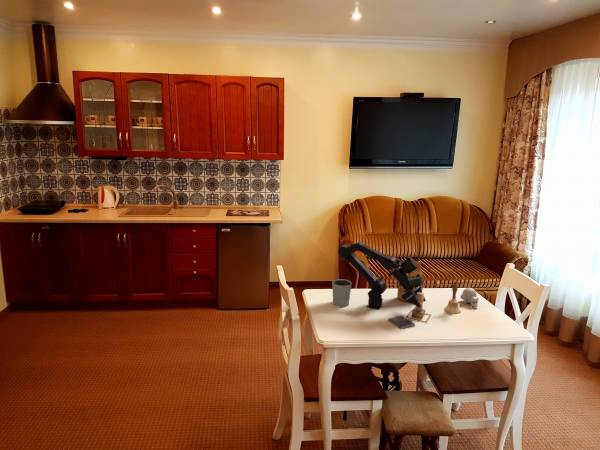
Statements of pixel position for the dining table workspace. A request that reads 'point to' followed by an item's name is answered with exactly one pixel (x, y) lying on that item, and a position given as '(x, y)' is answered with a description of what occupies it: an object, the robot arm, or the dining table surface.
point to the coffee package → (413, 275)
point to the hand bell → (453, 301)
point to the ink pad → (401, 322)
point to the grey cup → (341, 292)
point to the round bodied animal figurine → (470, 297)
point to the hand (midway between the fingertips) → (422, 304)
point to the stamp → (418, 311)
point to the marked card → (425, 319)
